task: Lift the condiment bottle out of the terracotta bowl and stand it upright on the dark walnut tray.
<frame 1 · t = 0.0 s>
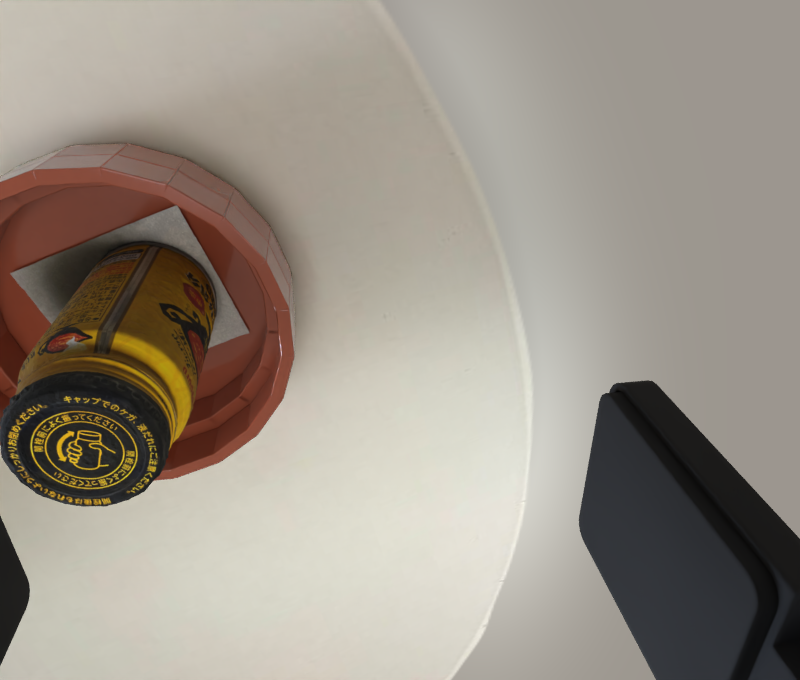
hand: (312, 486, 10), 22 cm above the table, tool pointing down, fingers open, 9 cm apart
condiment: (138, 300, 31), resting on bowl
bowl: (139, 298, 31), on the table
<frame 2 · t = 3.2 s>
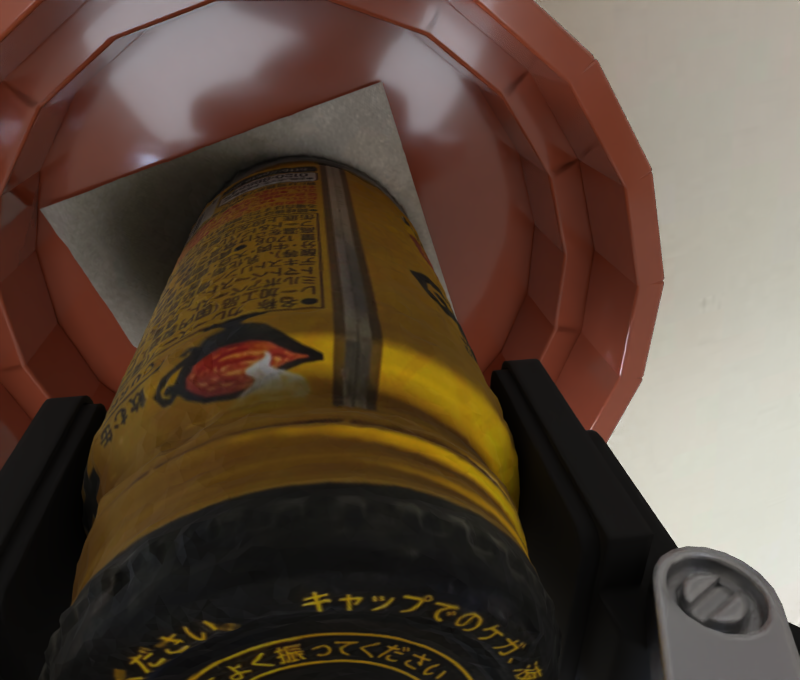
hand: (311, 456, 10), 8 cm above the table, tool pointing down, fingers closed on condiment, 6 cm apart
condiment: (274, 274, 17), resting on bowl, touching gripper
bowl: (300, 264, 17), on the table
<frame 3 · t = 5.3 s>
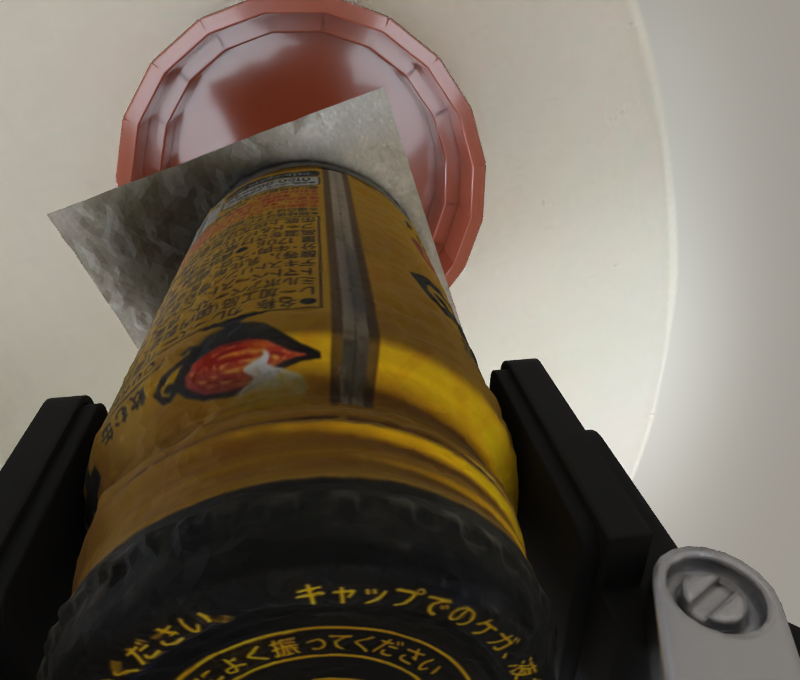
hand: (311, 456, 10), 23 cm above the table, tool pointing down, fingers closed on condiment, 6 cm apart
condiment: (278, 278, 17), point 15 cm above the table, touching gripper
bowl: (308, 173, 31), on the table
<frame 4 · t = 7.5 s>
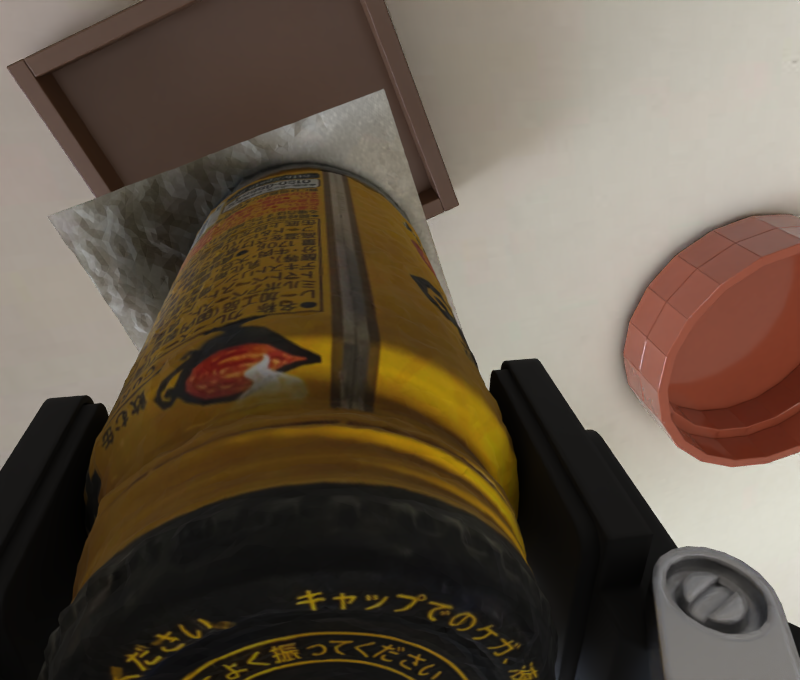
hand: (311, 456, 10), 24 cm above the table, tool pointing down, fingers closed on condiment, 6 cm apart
tray: (258, 133, 31), on the table
condiment: (278, 279, 17), point 17 cm above the table, touching gripper
bowl: (732, 325, 41), on the table
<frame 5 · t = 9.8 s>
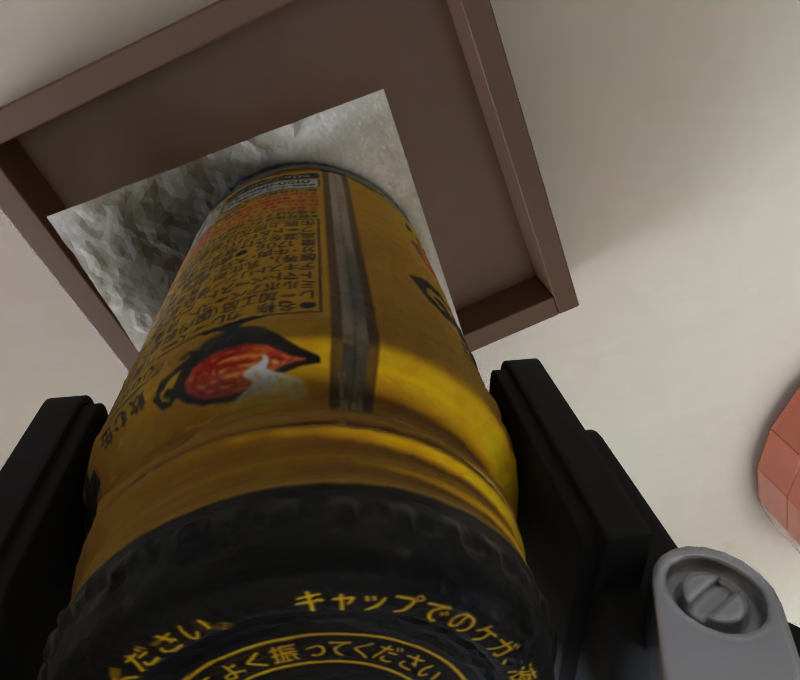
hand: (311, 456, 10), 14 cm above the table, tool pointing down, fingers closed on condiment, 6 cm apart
tray: (304, 209, 22), on the table
condiment: (278, 280, 17), point 6 cm above the table, touching gripper
when the fingers open (8 cm above the table, at t = 11.7 s): condiment stays where it is, resting on tray.
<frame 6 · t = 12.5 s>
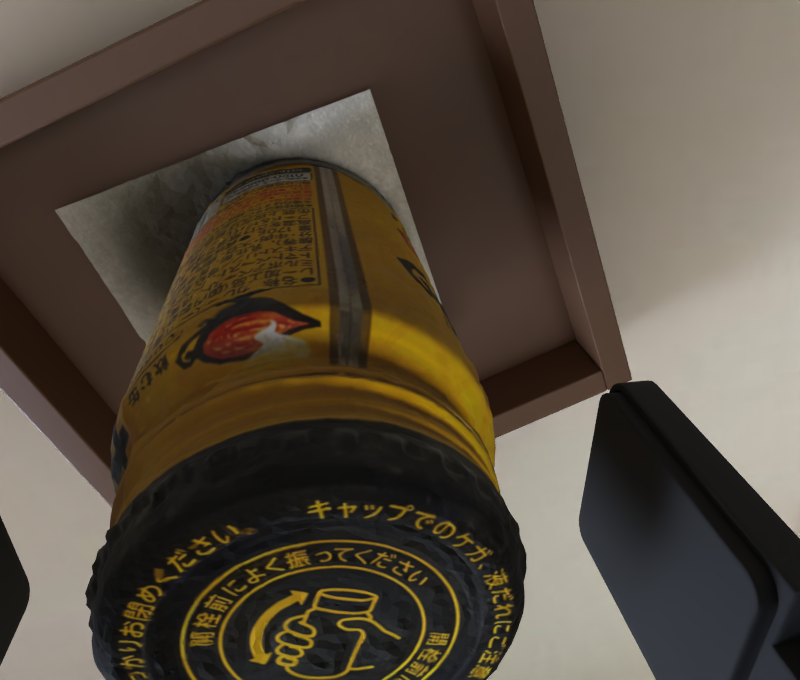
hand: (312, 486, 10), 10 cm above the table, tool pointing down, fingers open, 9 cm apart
tray: (296, 266, 18), on the table
condiment: (272, 269, 18), resting on tray
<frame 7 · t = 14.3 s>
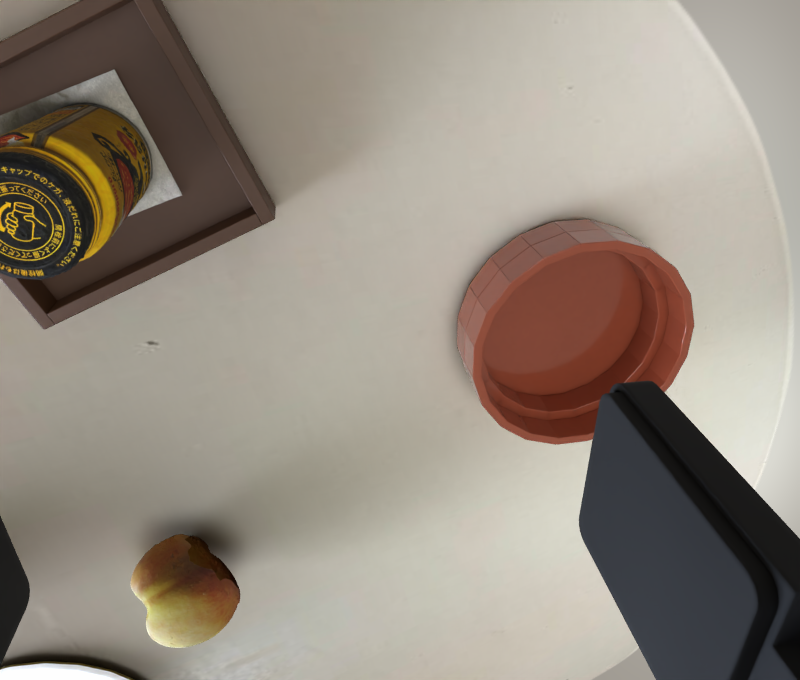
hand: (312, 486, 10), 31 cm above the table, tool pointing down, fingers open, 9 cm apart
tray: (97, 161, 36), on the table
fruit: (194, 546, 51), on the table
condiment: (83, 161, 35), resting on tray
bowl: (556, 318, 45), on the table
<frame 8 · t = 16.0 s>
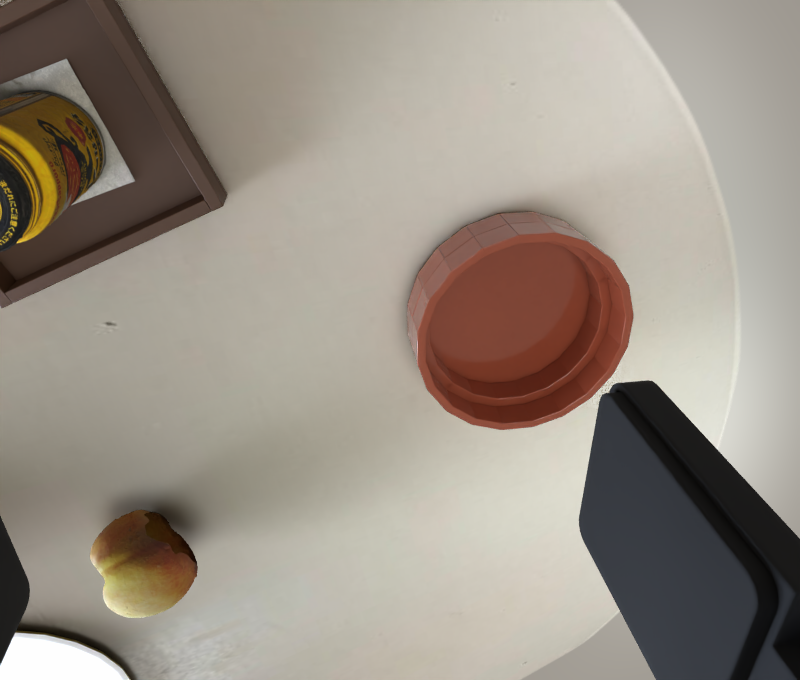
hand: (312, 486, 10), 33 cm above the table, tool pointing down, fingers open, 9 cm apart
tray: (53, 146, 37), on the table
fruit: (156, 522, 52), on the table
condiment: (39, 146, 37), resting on tray
bowl: (505, 308, 47), on the table
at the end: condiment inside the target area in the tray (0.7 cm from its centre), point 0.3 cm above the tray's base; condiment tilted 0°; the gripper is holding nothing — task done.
